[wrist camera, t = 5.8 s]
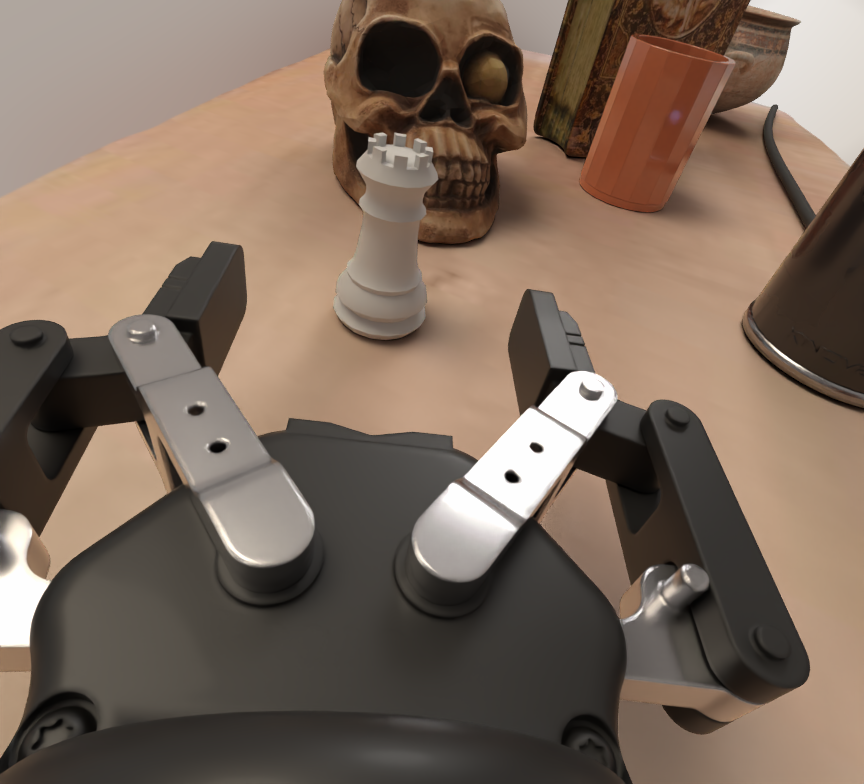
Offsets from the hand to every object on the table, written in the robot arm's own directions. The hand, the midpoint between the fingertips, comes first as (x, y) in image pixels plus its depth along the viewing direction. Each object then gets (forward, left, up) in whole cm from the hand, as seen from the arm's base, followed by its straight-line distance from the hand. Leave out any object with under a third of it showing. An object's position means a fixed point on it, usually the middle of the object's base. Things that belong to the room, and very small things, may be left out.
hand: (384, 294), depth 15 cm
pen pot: (-35, -8, -6) cm, 37 cm away
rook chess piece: (-6, -6, -7) cm, 11 cm away
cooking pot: (-74, -20, -7) cm, 77 cm away
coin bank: (-19, -17, -7) cm, 27 cm away
